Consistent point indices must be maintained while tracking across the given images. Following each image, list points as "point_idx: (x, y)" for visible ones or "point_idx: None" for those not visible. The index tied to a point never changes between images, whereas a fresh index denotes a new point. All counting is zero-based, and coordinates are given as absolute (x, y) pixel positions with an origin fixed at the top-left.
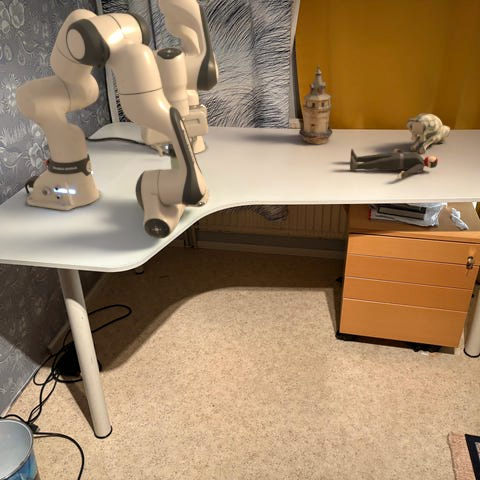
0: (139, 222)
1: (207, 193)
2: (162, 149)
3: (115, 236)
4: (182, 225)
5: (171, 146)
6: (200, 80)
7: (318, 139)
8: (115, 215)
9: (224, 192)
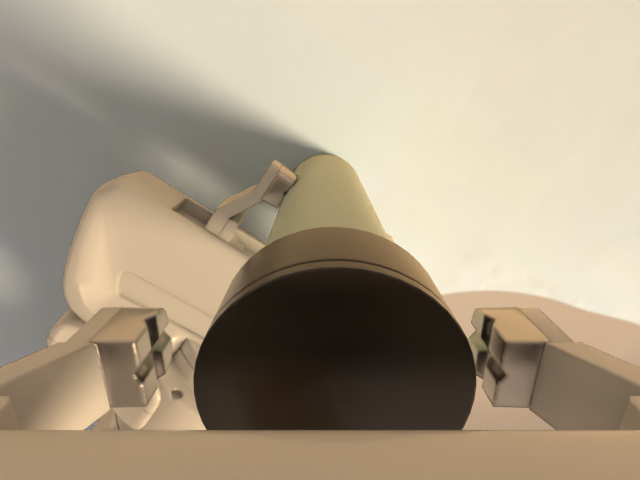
0: None
1: None
2: (121, 351)
3: (5, 340)
4: None
5: (249, 380)
6: None
7: None
8: (4, 173)
9: (554, 184)
